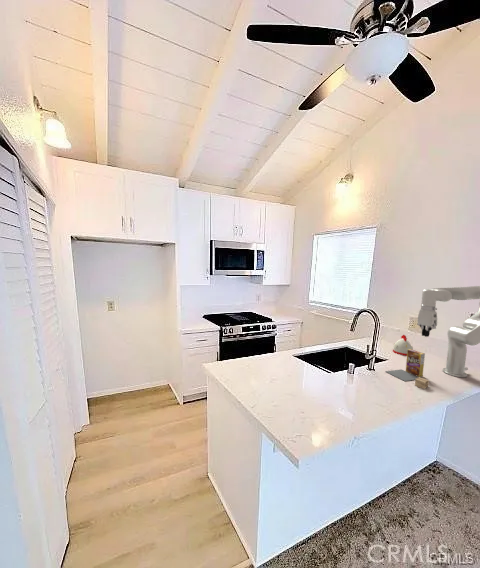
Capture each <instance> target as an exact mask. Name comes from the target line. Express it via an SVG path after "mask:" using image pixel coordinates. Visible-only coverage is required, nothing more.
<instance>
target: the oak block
mask: <svg viewBox="0 0 480 568" xmlns="http://www.w3.org/2000/svg"><path fill="white" fill-rule="evenodd" d="M429 381H430V380H428V379H426V378H423V377H419V378H416V379H415V380H414V382H415V383H414V386H416V387H417V388H418V387H419V388H421V389H424V390H425V389H427V388H429V385H430V382H429Z"/></svg>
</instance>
